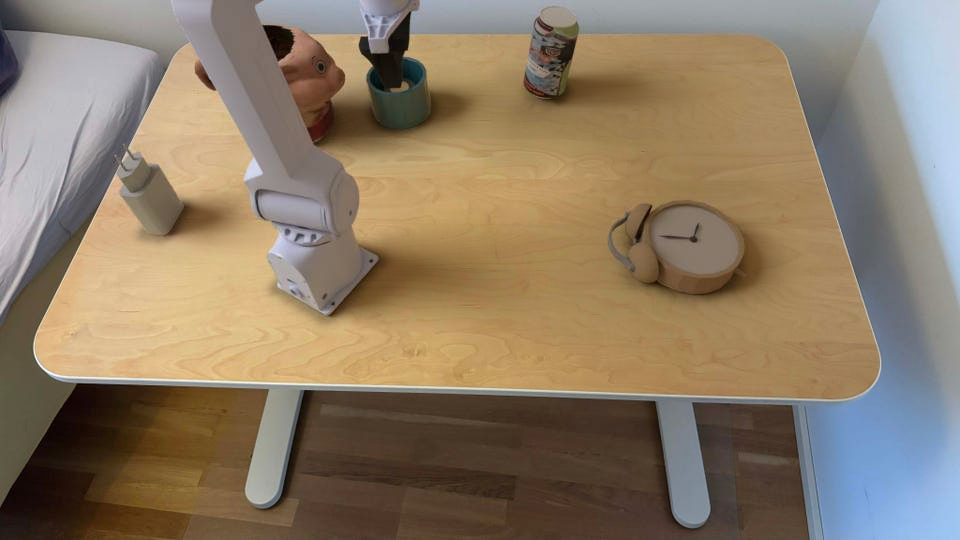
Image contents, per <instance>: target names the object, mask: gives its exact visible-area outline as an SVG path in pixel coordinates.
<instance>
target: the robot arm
mask: <svg viewBox="0 0 960 540" xmlns="http://www.w3.org/2000/svg"><path fill="white" fill-rule="evenodd" d="M263 1H264V0H170V1H169V2H170V4H171V7H172V11H173V13H174V15H175V18H176V19H177V22H178V24H179V26H180V28H181V29H182V31H183V33H184V35H185V37H186V38H187V40H188V42H189V44H190V45H191V47H192V49H193V51H194V53H195V55H196V56H197V59H198V58H199V60H200V61H201V63H202V65H203V67H204V69H205V70H206V72H207V74H208V76H209V78H210V80H211V81H212V83H213V85H214V86H215V88H216V90H217V91H216V92H217V94H218V96H219V97H220V99H221V101H222V103H223V104H224V106H225V109H226V110H227V112H228V114H229V116H230V117H231V119H232V120H233V122H234V124H235V126H236V128H237V129H238V131H239V133H240V135H241V136H242V138H243V140H244V142H245V144H246V146H247V147H248V149H249V151H250V153H251V154H252V156H253V157H252V159H251V161H250V162H249V164H248V166H247V169H246V172H245V174H244V178H243V183H244V185H245V186H246V188H247V190H248V194H249V201H250V205H251V208H252V211H253V214H254V215H255V217H256V218H257V219H259V220H261V221H265V222H271V224H272V226H273V228H274V230H275V231H276V230H277V231H279V233H278V236H277V239H276V241H275V242H274V244H273V246H271V248H269V251H268V252H267V254H266V259H267V262H268V264H269V266H270V268H271V270H272V272H273V273H274V274H273V275H274V276H275V278H276V279H277V284H276V285H277V288H278V289H279V290H281V291H283V292H285V293H286V294H288V295H289V296H292V297H293V298H295V299H297V300H299V301H300V302H302V303H304V304H305V305H307V306H309V307H310V308H312V309H314V310H316V311H317V312H319V313H321V314H323V315H325V316H329V315H331V314H332V313H333V312H334V311H335V310H336V309H337V308H338V307H339V305H340V304H341V303H342V302H343V301H344V300H345V299H346V298H347V297H348V296H349V295H350V293H351V292H352V291H353V290H354V289H355V288H356V286H357V285H358V284H360V282H361V281H362V280H363V279H364V278H365V276H366V275H368V273H370V271H371V270H372V268H373V267H374V266H376V264H377V263H378V262H379V259H380V258H379V256H378V255H377V254H375V253H373V252H371V251H369V250H367V249H365V248H364V247H361V246H359V244H358V241H357V238H356V235H355V231H354V229H353V224H354V223H355V221H356V218H357V215H358V212H359V208H360V189H359V186H358V184H357V182H356V180H355V178H354V176H353V175H352V174H350V173H348V171H346V168H345V167H344V164H343V162H341V160H339V159H337V158H335V156H333V155H331V154H330V153H328V152H326V151H325V150H322V149H321V148H319V147H318V146H316V145H315V144H314V143H313V142H312V140H311V137H310V135H309V133H308V130H307V128H306V126H305V123H304V121H303V119H302V116H301V114H300V112H299V110H298V107H297V105H296V103H295V100H294V98H293V96H292V93H291V91H290V89H289V86H288V84H287V82H286V79H285V77H284V75H283V72H282V70H281V68H280V65H279V63H278V61H277V58H276V56H275V54H274V52H273V49H272V47H271V45H270V42H269V40H268V38H267V35H266V33H265V31H264V28H263V26H262V24H263V23H262V22H261V19H260V17H259V14H258V12H257V9H256V6H257V5H258V4H260V3H262V2H263ZM420 1H421V0H359V10H360V13H361V17H362V20H363V23H364V25H365V27H366V28H365V29H366V31H367V33H368V36H364V35H363V36H360V38H359V41H358V49H359V52H360V54H361V55H362V56H363V57H364V58H365V59H367V61H368V62H369V63H370V64H371V65H372V66H373V67H374V68H375V70H376V72H377V74H378V76H379V78H380V79H381V81H382V83H383V85H384V87H385V88H401V85H402V77H403V70H402V62H403V57H405V53H406V52H408V51H409V46H410V38H411V37H410V35H411V34H410V33H411V17H412V12H417V11H419V10H420V5H421V2H420Z"/></svg>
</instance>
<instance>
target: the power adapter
mask: <svg viewBox="0 0 960 540" xmlns="http://www.w3.org/2000/svg"><path fill="white" fill-rule="evenodd" d="M122 147H123V148H124V149H125V151H126V153H127V154H128V155H127V156H126V157H125V158H124V160H123V161H122V160H121V159H120V157H119V156H118V154H114V158H115V159H116V160H117V162H118V164H119V166H118V169H117V170H116V175H117V177H118V178H119V180H120V181H121V183H122V186H121V187H120V188H119V191H118V194H119V196H120V197H121V198H122V200H123V201H124V203H125V204H126V205H127V207H128V208H129V210H130V211H131V213H132V214H133V215H134V217H135V218H136V219H137V221H138V222H139V224H140V225H141V226H142V228H143V229H144V231H145V232H146V233H147V234H148V235H152V236H167V235H168V234H170V232H171V230H172V229H173V227H174V225H175V223H176V222H177V220H178V218H179V217H180V215H181V213H182V212H183V210H184V207H185V206H184V203H183V202H182V200H181V199H180V197H179V196H178V194H177V192H176V191H175V189H174V187H173V186H172V184H171V182H170V181H169V179H168V178H167V176H166V174H165V172H164V171H163V169H162V168H161V166H160V165H159V164H157V163H150V162H147V160H146V159H145V157H144V155H142V153H141V152H140V151H135V152H133V153H132V152H131V150H130V149H129V148H128V146H127V145H126V143H123V144H122Z"/></svg>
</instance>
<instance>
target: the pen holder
mask: <svg viewBox="0 0 960 540" xmlns="http://www.w3.org/2000/svg"><path fill="white" fill-rule="evenodd" d="M402 70H403V77H402V78H406V79H409V80H411V81H413V82H414V84H415V86H414V87H412V88H410V89H408V90H405V91H402V92H393V93H390V92H384V85H383V83H382V81H381V79H380V78H379V76H378V74H377V72H376V70H375V68H374V67H373V65H372V66H371V67H370V68H369V69H368V71H367V73H366V77H365V82H366V86H367V91H368V95H369V99H370V103H371V108H372V111H373V115H374V118H375V120H376V121H377V122H378V123H379V124H380V125H382V126H383V127H385V128H389V129H393V130H404V129H411V128H413V127H416V126H418V125H420V124H422V123H423V122H425V120H426V119H428V117H429V116H430V114H431V112H432V102H431V101H432V100H431V94H430V86H429V78H428V72H427V69H426V67H425V65H424V64H423V63H422V62H421V61H420V60H418V59H415V58H414V57H411V56H403V62H402Z"/></svg>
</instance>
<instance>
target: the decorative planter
mask: <svg viewBox="0 0 960 540" xmlns="http://www.w3.org/2000/svg"><path fill="white" fill-rule="evenodd" d="M261 24H262V26H263V28H264V31H265V33H266V35H267V38H268V40H269V42H270V45H271V47H272V49H273V52H274V54H275V56H276V58H277V61H278V63H279V65H280V68H281V70H282V72H283V75H284V77H285V79H286V82H287V84H288V86H289V89H290V91H291V93H292V96H293V98H294V100H295V103H296V105H297V107H298V110H299V112H300V114H301V116H302V119H303V121H304V123H305V126H306V128H307V130H308V133H309V135H310V137H311V140H312V142H313V144H314V143H317V142H318V141H320V140H321V139H323V137H325V136H326V135H327V134H328V133H329V132H330V130H331V129H332V127H333V125H334V119H335V112H334V107H333V103H332V101H331V99H332V98H333V97H334V96H335V95H336V94H338V92H340V91H341V90H342V88H343V87H344V86H345V84H346V73H345V72H344V70H343V69H342V68H340V67H339V66H337V64H336V62H335V60H334V58H333V56H331V54H329V53H328V52H327V50H326V49H325V47H324V45H322V43H320V42H319V41H318V40H316V39H314V38H313V37H312V36H311V35H310V34H308V32H306V31H305V30H303V29H302V28H299V27H293V26H289V25H284V24H279V23H261ZM194 74H195V75H196V77H197V78H198V79H199V80H200V82H201V83H202V84H203V85H204V86H205V87H206V88H208V89H209V90H211V91H213V92H215V91H216V92H217V90H216V88H215V86H214V85H213V83H212V81H211V79H210V78H209V76H208V74H207V72H206V70H205V69H204V67H203V65H202V63H201V61H200V60H199V58H198V57H197V59H196V60H195V62H194Z"/></svg>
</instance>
